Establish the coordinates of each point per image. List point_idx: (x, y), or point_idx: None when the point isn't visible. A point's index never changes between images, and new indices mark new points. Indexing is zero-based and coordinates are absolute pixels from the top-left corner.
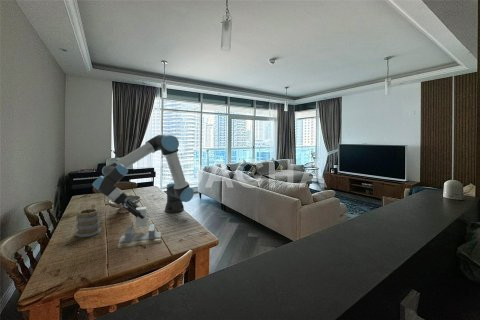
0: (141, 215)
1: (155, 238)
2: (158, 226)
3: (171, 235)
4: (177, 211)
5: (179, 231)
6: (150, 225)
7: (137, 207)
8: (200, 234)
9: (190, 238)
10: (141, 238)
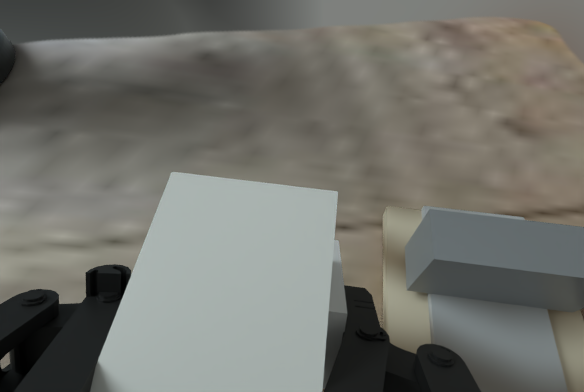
0: (371, 316)
1: None
2: None
3: (433, 161)
4: (7, 60)
5: (380, 113)
6: (465, 251)
7: (102, 364)
8: (457, 45)
9: (502, 87)
10: (543, 379)
